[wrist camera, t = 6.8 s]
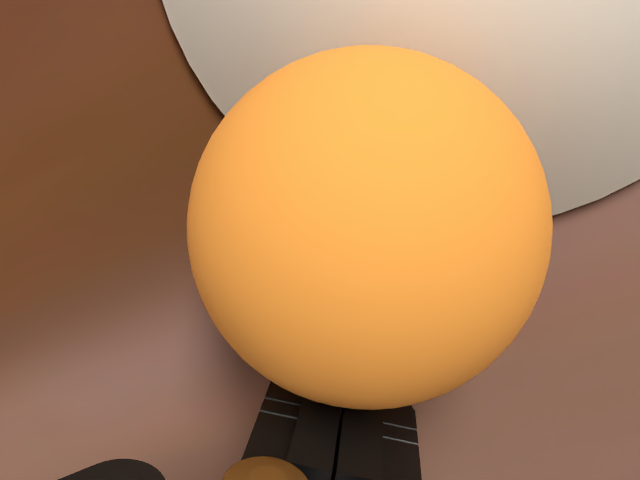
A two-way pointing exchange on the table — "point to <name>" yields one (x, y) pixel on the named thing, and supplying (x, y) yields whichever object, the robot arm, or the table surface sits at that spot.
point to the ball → (369, 227)
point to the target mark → (458, 65)
